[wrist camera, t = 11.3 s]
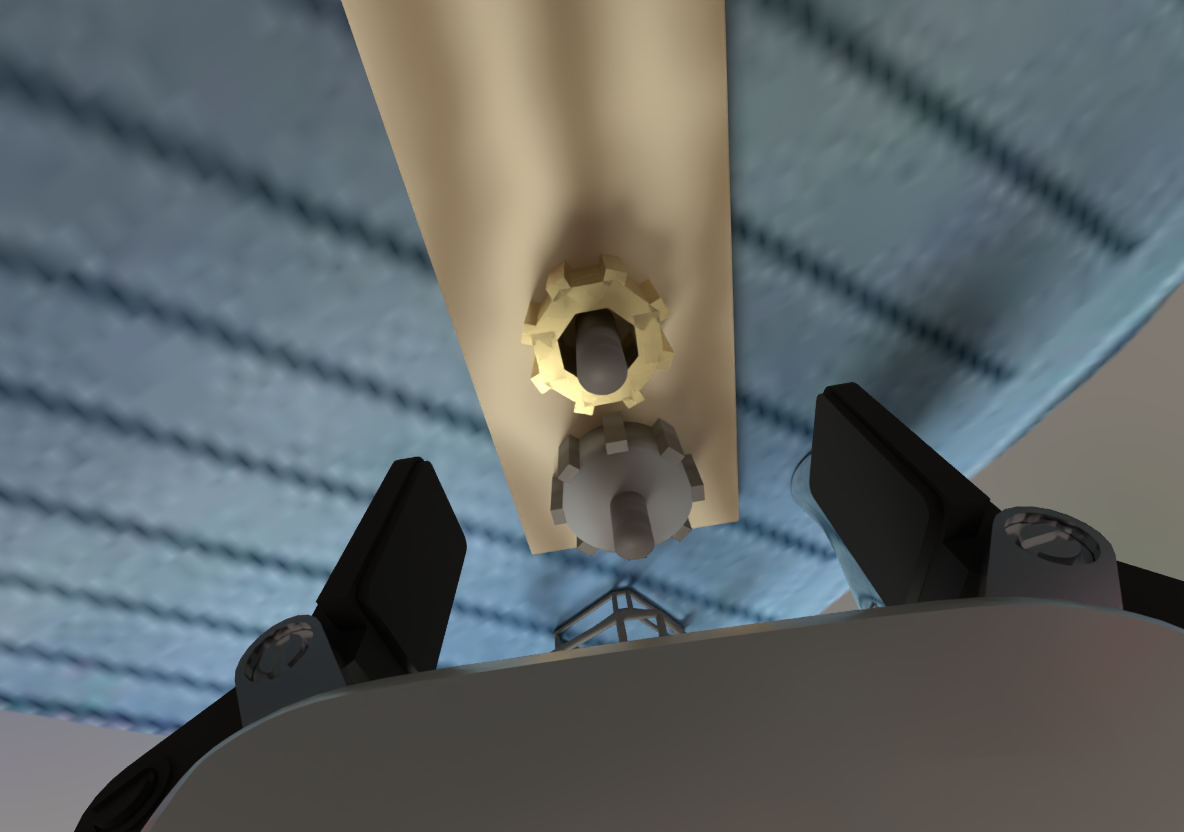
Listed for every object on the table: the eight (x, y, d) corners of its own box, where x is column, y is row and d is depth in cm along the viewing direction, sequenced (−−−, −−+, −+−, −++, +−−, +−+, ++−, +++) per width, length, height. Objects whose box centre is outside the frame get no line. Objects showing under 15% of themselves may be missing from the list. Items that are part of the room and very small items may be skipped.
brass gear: (651, 243, 21) (665, 257, 18) (665, 370, 25) (678, 400, 21) (514, 269, 22) (505, 287, 19) (546, 391, 25) (542, 424, 22)
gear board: (710, -76, 17) (796, -219, 11) (731, 505, 31) (774, 596, 25) (356, 6, 18) (233, -80, 11) (533, 538, 32) (524, 635, 26)
